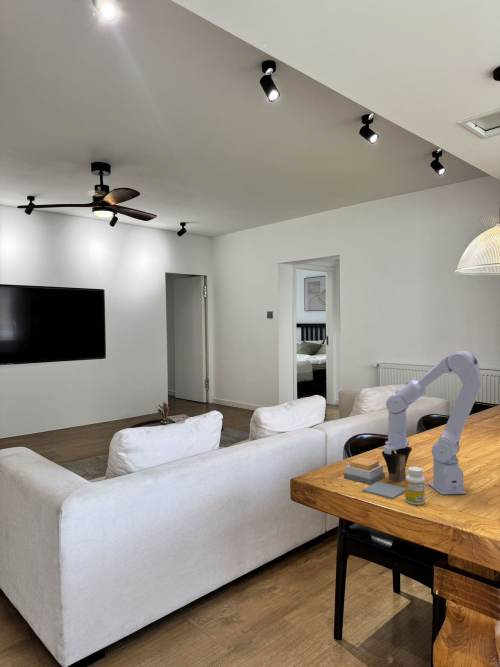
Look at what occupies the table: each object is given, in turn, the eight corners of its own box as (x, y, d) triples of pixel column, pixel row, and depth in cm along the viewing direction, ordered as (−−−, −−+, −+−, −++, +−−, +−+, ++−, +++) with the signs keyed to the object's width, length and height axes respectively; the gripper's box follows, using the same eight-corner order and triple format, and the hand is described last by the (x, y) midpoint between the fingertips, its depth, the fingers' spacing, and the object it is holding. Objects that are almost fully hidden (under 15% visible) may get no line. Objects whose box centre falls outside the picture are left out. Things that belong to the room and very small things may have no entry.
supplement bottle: (409, 496, 141) (409, 464, 141) (427, 501, 137) (427, 468, 137) (402, 502, 137) (402, 469, 136) (421, 506, 133) (421, 472, 133)
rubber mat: (407, 490, 146) (407, 488, 146) (393, 499, 139) (393, 497, 139) (377, 482, 153) (377, 481, 153) (362, 491, 146) (362, 489, 146)
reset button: (378, 466, 159) (378, 461, 159) (368, 471, 154) (368, 465, 153) (360, 462, 163) (360, 457, 163) (349, 467, 158) (349, 461, 158)
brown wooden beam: (405, 478, 157) (405, 455, 157) (400, 481, 154) (400, 457, 154) (394, 476, 160) (394, 453, 160) (388, 479, 157) (388, 455, 157)
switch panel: (384, 476, 159) (384, 465, 159) (370, 484, 151) (370, 472, 151) (358, 470, 166) (358, 459, 166) (343, 477, 158) (343, 466, 158)
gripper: (395, 425, 165) (395, 463, 165) (375, 432, 154) (375, 473, 154) (415, 428, 160) (414, 467, 160) (396, 435, 149) (396, 478, 149)
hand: (396, 470), depth 157 cm, fingers open, 7 cm apart
